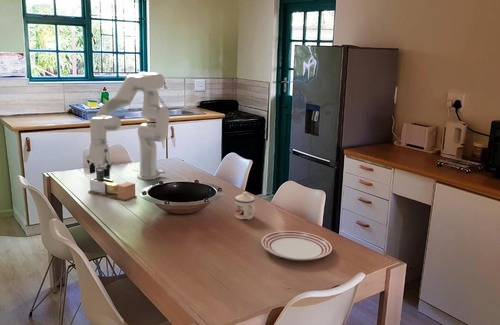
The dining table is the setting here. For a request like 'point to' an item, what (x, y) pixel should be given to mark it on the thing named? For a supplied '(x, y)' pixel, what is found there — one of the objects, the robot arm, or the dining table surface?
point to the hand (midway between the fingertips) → (99, 174)
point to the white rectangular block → (98, 185)
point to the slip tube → (107, 182)
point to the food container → (103, 170)
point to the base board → (112, 196)
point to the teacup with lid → (244, 206)
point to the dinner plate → (296, 245)
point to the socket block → (126, 190)
